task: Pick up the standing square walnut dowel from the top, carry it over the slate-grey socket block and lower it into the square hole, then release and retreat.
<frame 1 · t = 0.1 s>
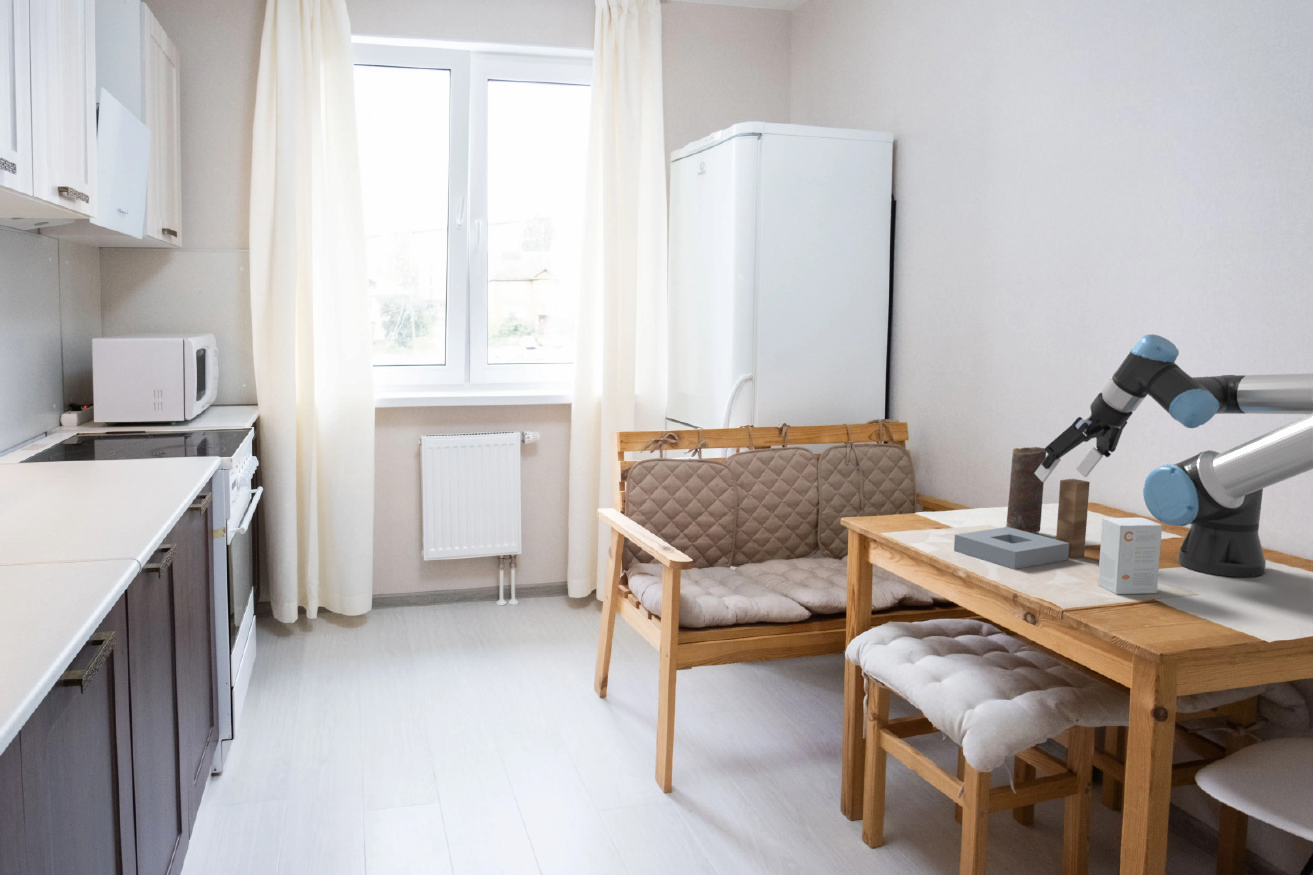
hand: (1060, 475, 207), 15 cm above the table, tool tilted 35°, fingers open, 13 cm apart
socket: (1010, 554, 199), on the table
peg: (1069, 555, 199), on the table
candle: (1023, 534, 218), on the table
small box: (1126, 590, 175), on the table
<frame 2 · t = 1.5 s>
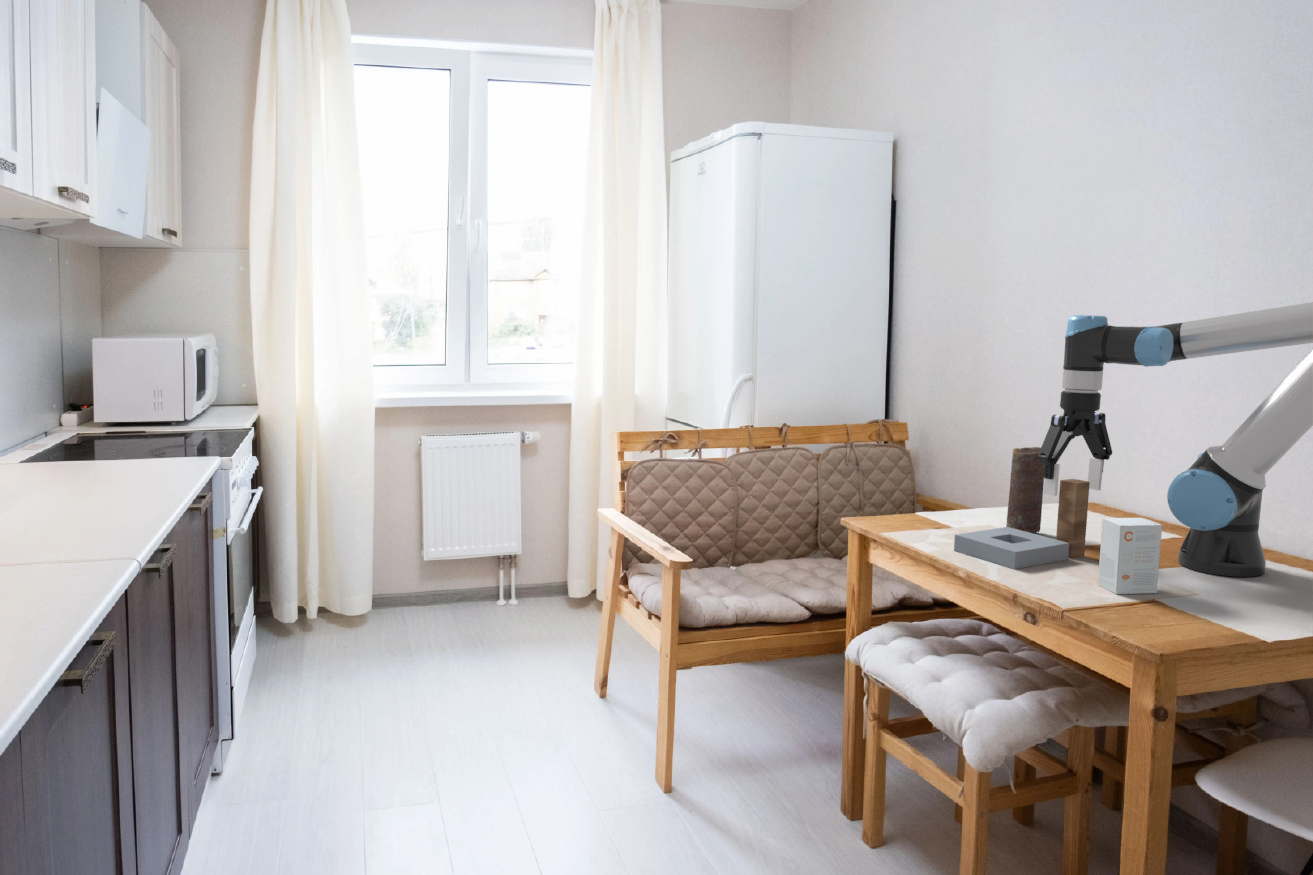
hand: (1072, 491, 197), 14 cm above the table, tool pointing down, fingers open, 13 cm apart
nothing on the table moved.
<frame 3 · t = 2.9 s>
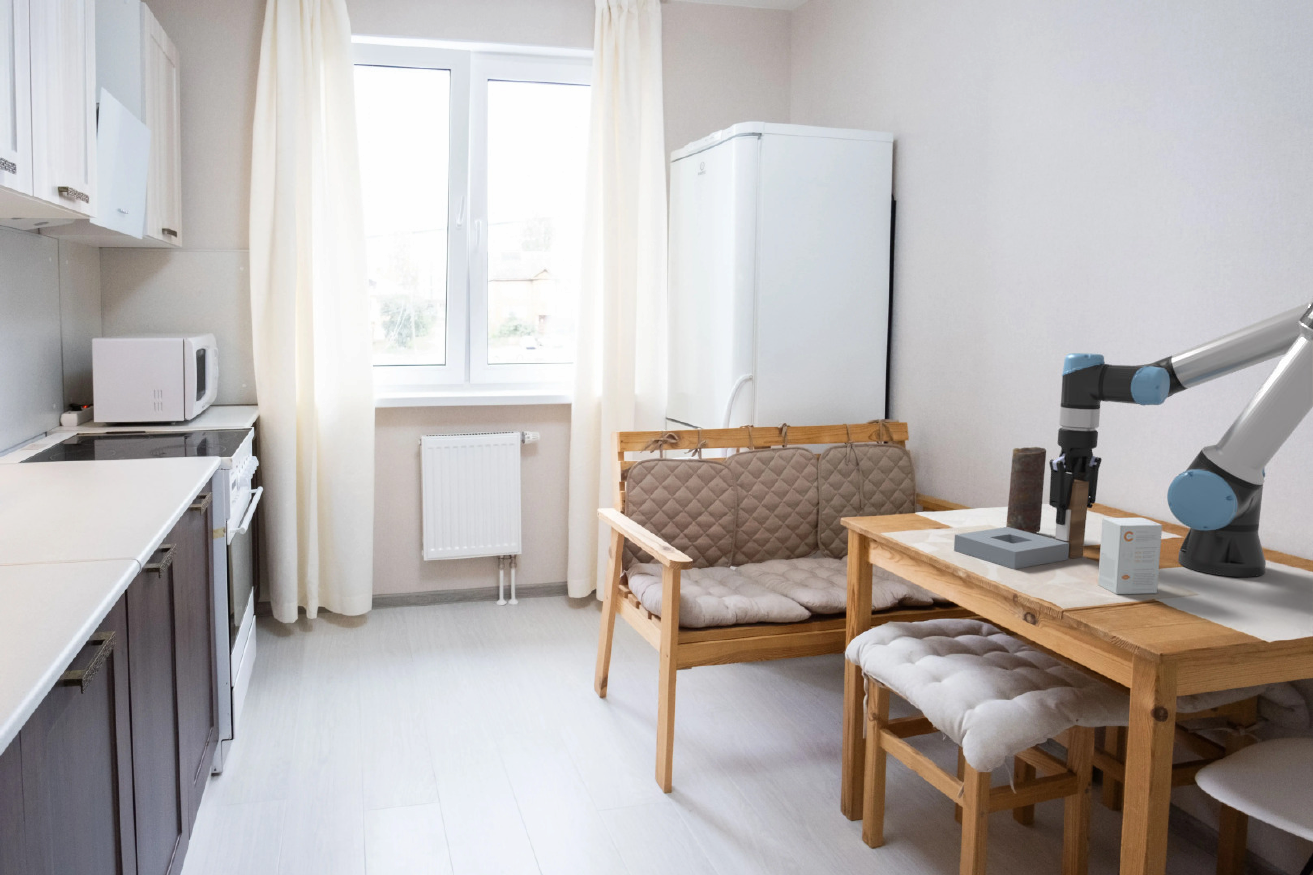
hand: (1069, 538, 198), 4 cm above the table, tool pointing down, fingers closed on peg, 4 cm apart
peg: (1068, 555, 199), on the table, touching gripper
everything else where it was.
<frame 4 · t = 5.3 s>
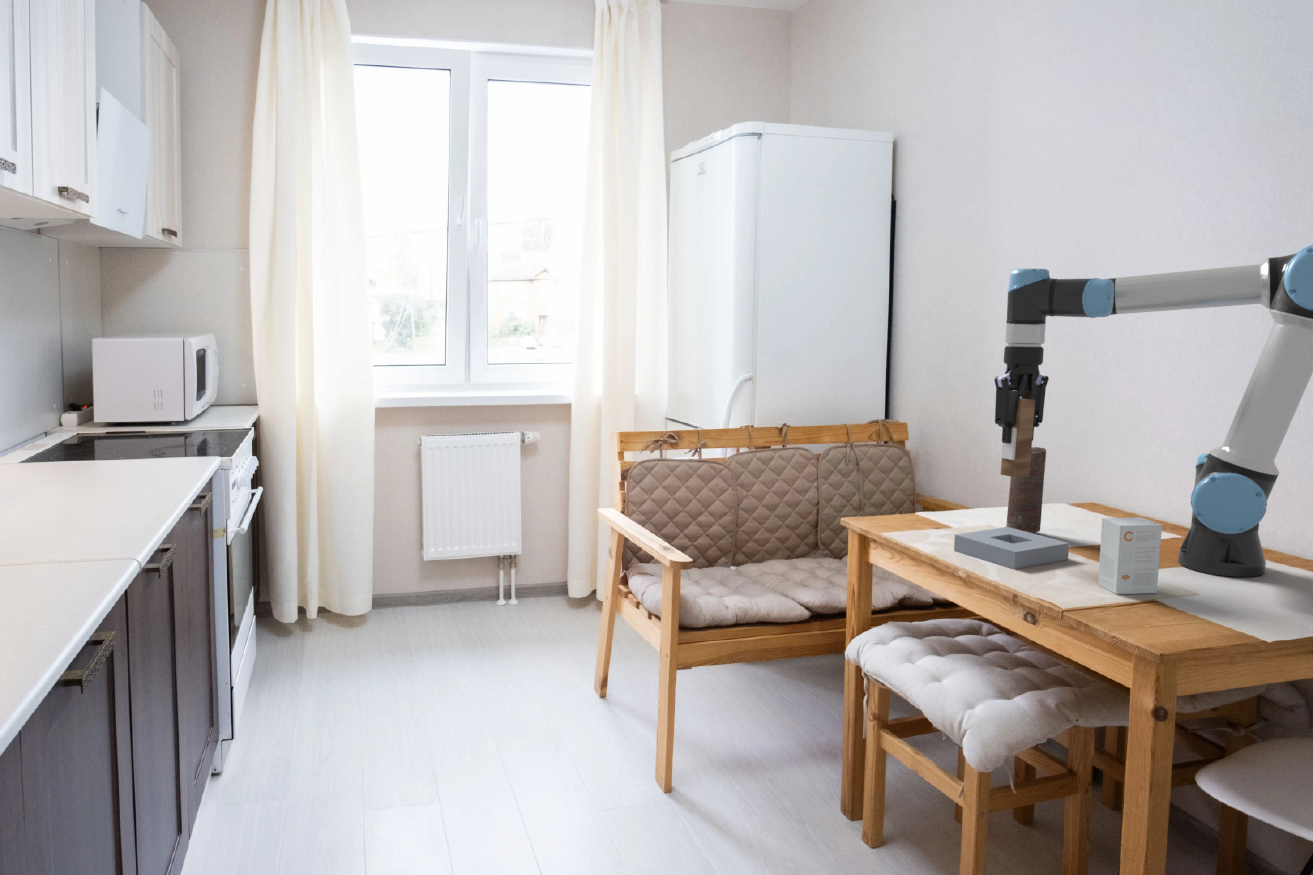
hand: (1016, 457, 196), 21 cm above the table, tool pointing down, fingers closed on peg, 4 cm apart
peg: (1015, 475, 197), point 17 cm above the table, touching gripper
everything else where it was.
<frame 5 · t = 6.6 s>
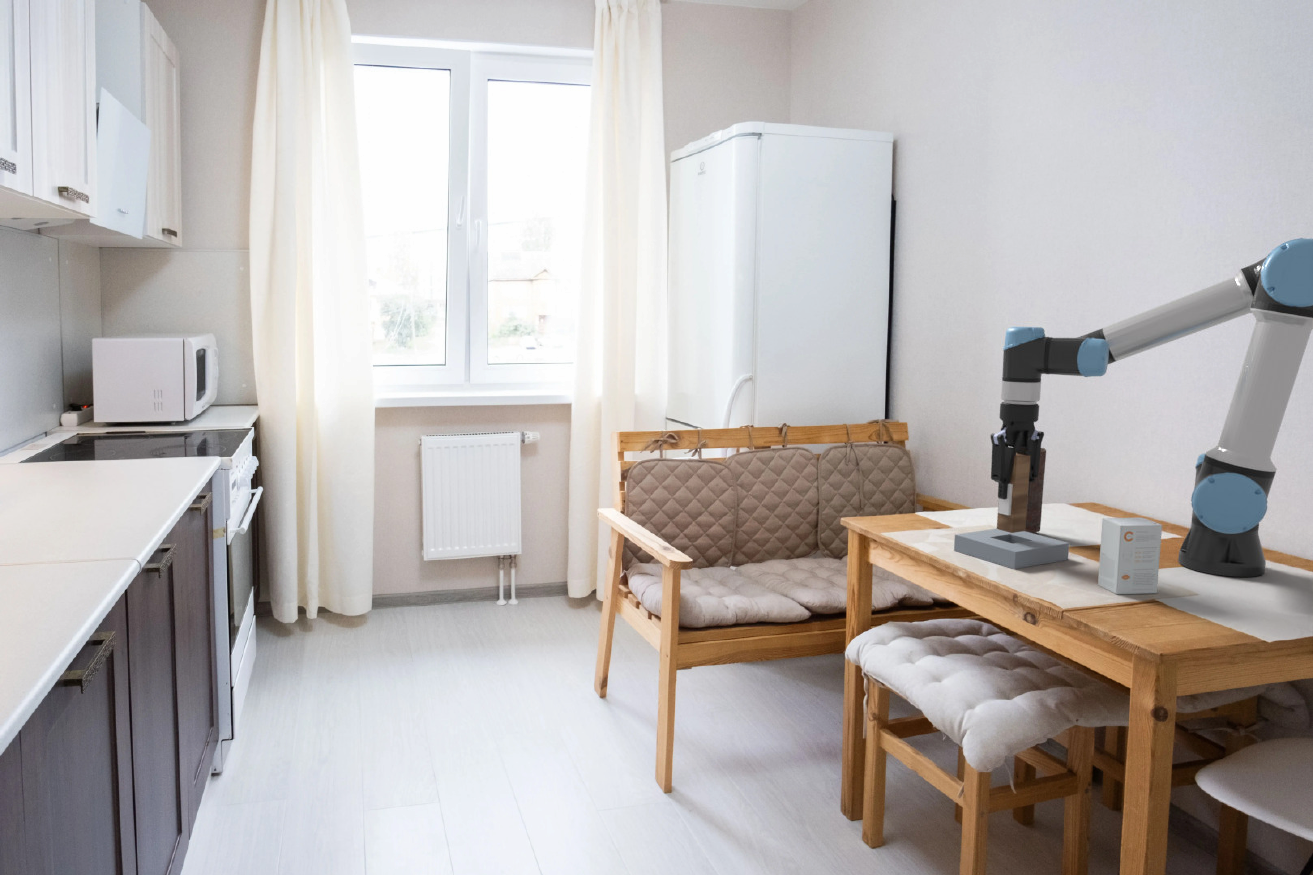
hand: (1012, 512, 198), 9 cm above the table, tool pointing down, fingers closed on peg, 4 cm apart
peg: (1010, 529, 198), point 5 cm above the table, touching gripper
everything else where it was.
when the fingers open (5 cm above the table, at t = 7.7 s): peg drops 1 cm, resting in socket.
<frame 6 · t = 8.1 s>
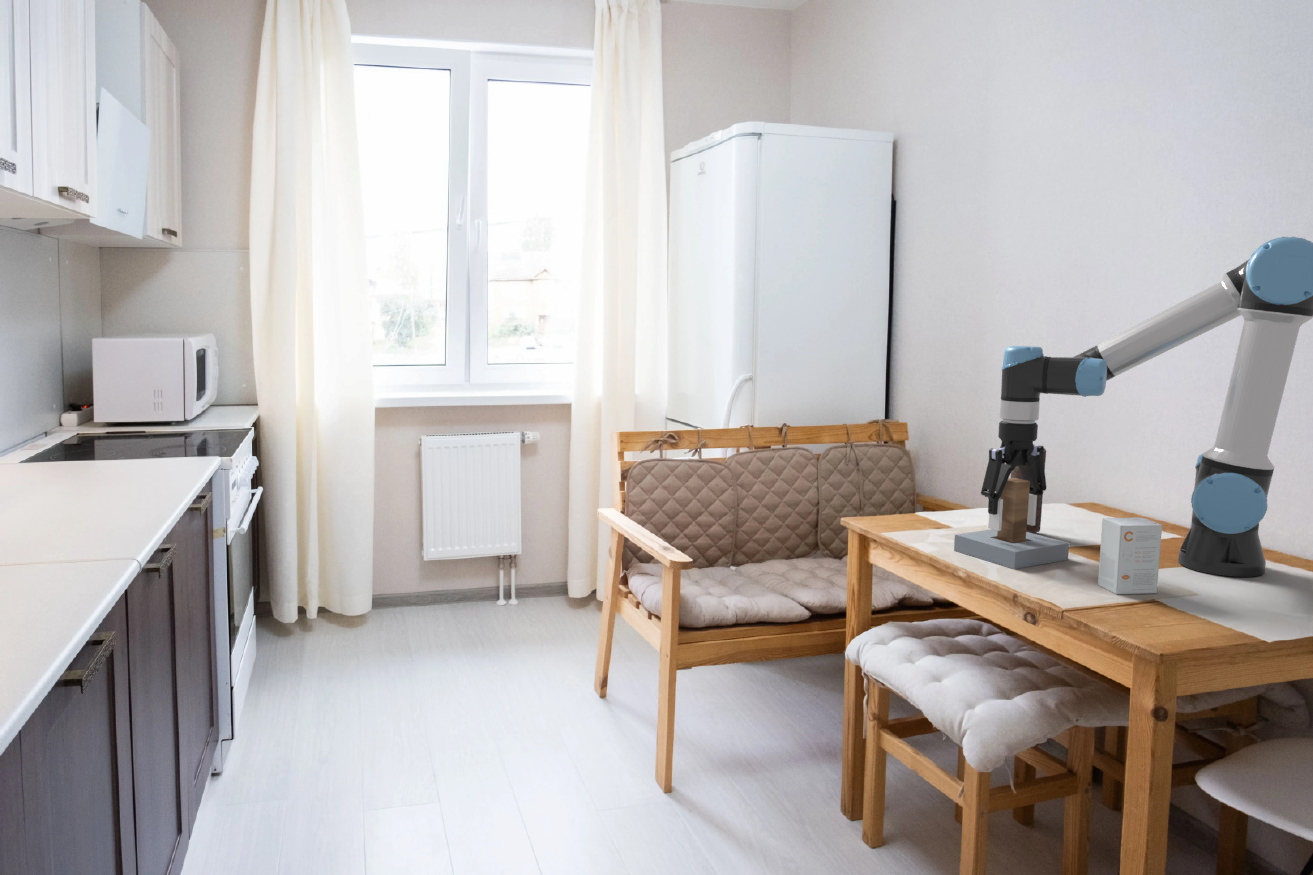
hand: (1011, 526, 198), 6 cm above the table, tool pointing down, fingers open, 9 cm apart
peg: (1010, 554, 199), resting in socket
everything else where it was.
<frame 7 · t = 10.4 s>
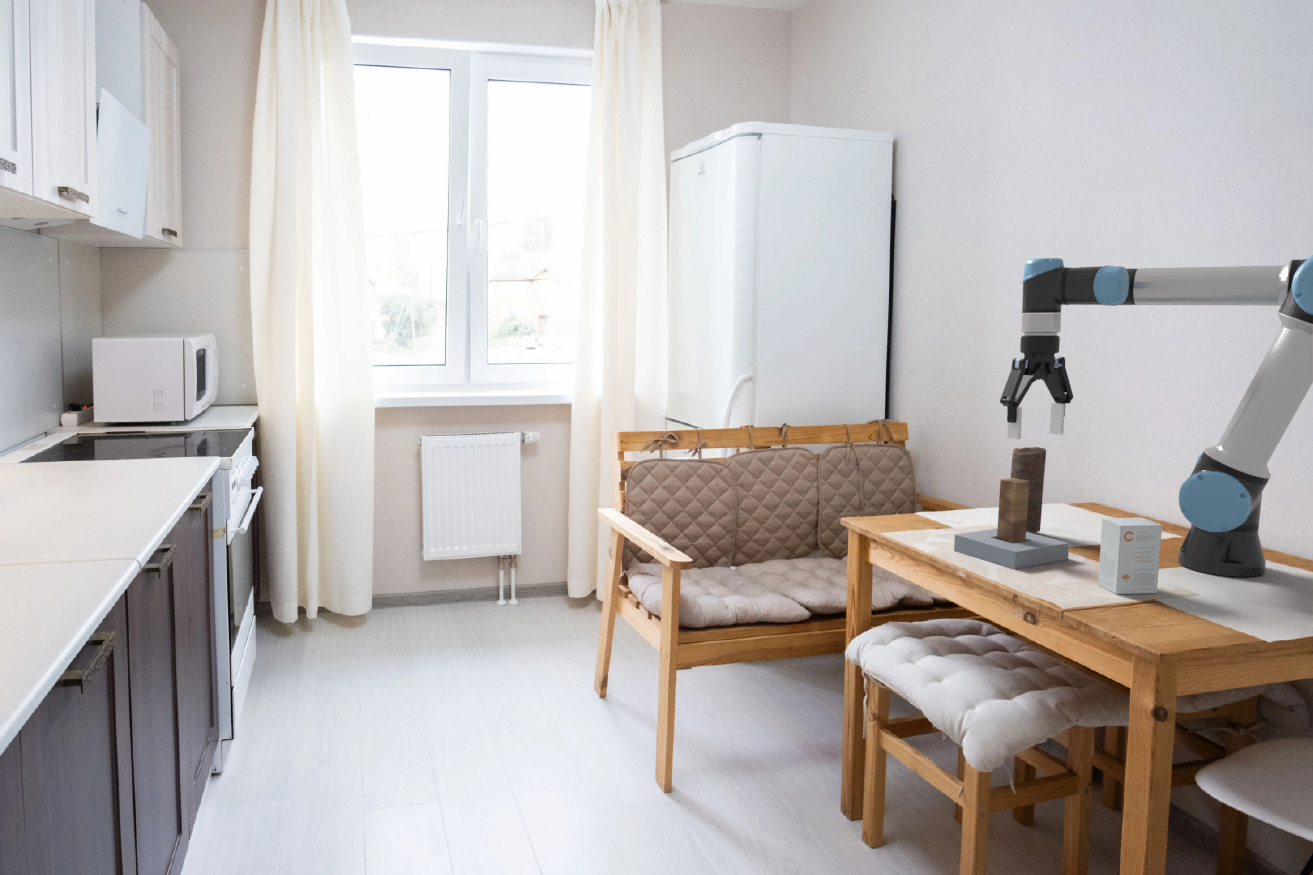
hand: (1035, 436, 198), 25 cm above the table, tool pointing down, fingers open, 13 cm apart
nothing on the table moved.
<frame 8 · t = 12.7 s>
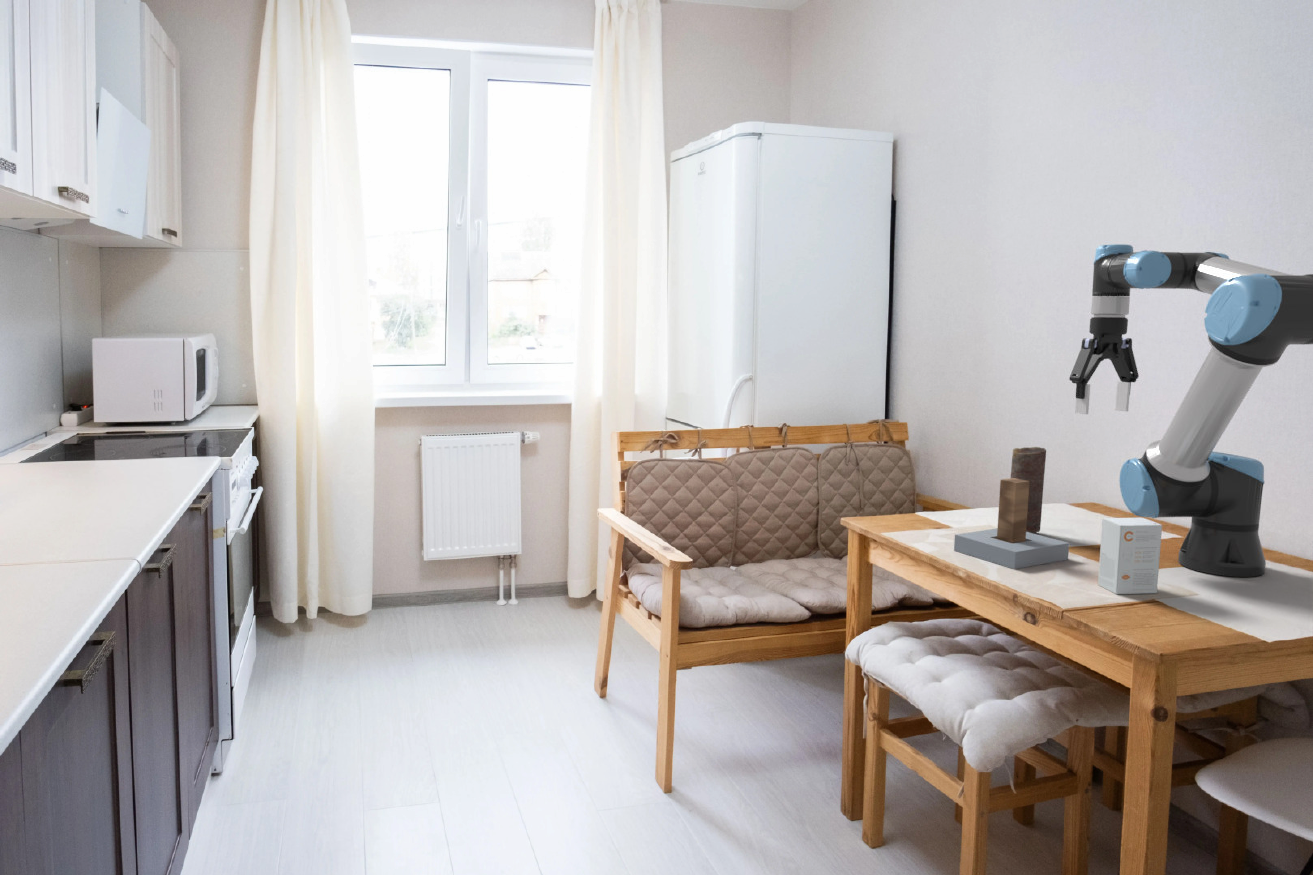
hand: (1101, 412, 210), 29 cm above the table, tool pointing down, fingers open, 13 cm apart
nothing on the table moved.
at the end: peg 0.0 cm off-centre on the socket, point 0.0 cm above the socket's base; peg tilted 0°; the gripper is holding nothing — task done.
